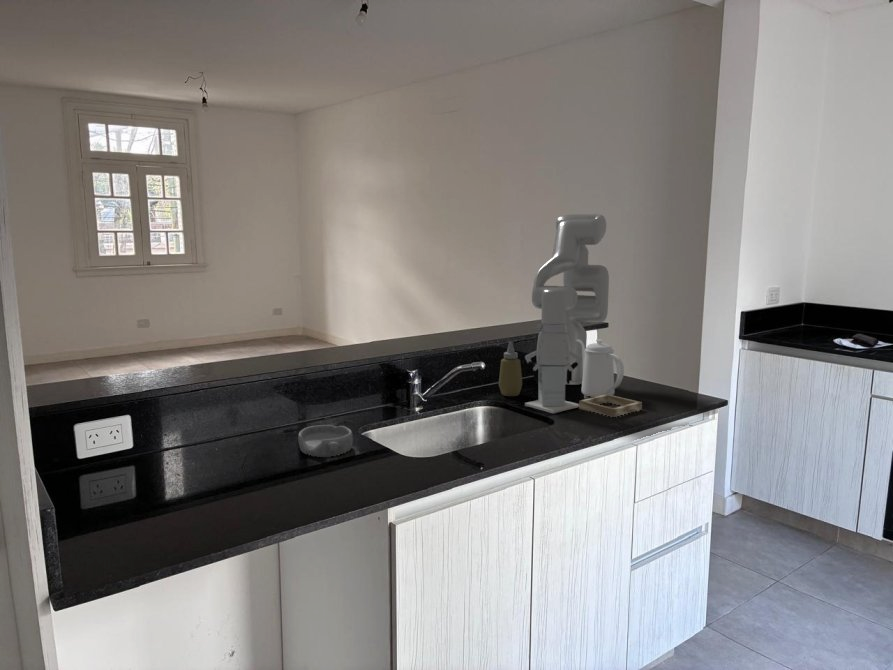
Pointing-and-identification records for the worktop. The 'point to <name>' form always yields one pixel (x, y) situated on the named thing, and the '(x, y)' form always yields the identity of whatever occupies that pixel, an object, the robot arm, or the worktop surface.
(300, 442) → the dish
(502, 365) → the squeeze bottle
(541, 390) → the supplement box
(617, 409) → the wooden frame
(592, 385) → the coffeepot
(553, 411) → the tile
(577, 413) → the worktop surface
